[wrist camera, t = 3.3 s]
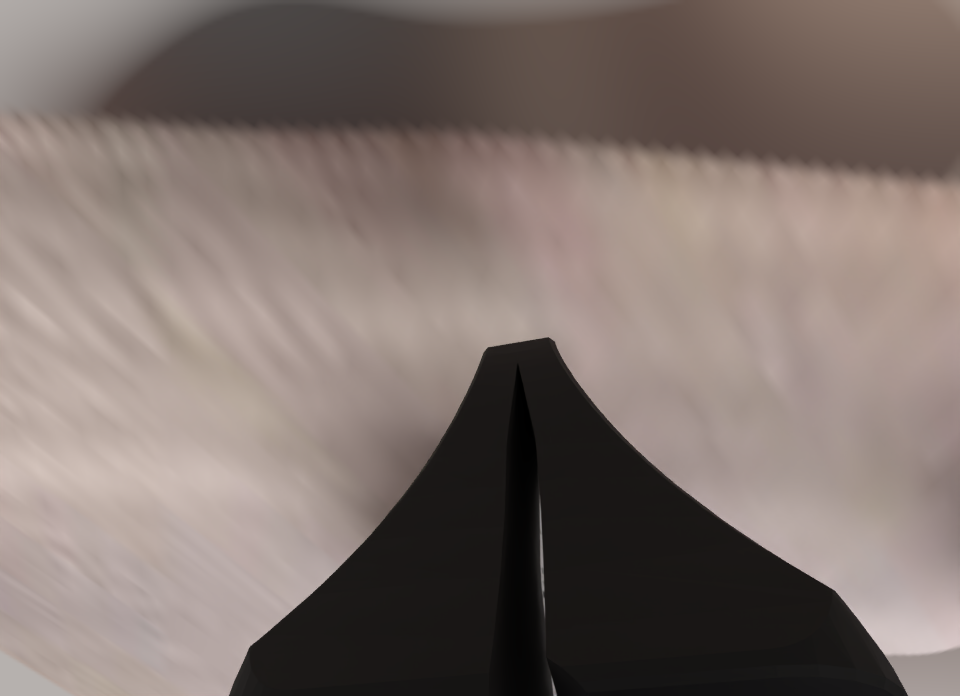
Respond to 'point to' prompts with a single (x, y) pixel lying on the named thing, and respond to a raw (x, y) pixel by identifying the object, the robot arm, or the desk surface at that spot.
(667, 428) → the desk surface
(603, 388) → the desk surface
